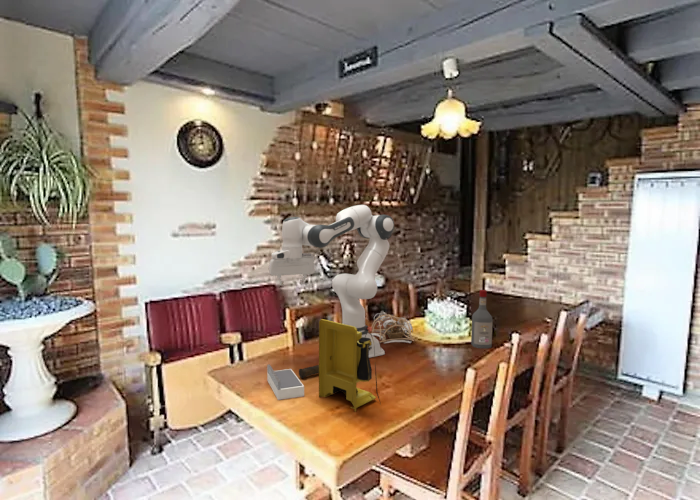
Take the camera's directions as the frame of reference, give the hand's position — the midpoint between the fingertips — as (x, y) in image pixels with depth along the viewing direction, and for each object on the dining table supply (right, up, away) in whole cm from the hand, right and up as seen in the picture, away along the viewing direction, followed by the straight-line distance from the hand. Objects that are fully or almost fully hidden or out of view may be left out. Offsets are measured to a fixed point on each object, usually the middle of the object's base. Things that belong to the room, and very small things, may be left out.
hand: (292, 284), depth 196 cm
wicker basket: (+51, -35, +50) cm, 79 cm away
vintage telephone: (+26, -41, -32) cm, 58 cm away
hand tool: (+8, -41, -9) cm, 43 cm away
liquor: (+94, -36, +33) cm, 106 cm away
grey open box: (0, -39, -22) cm, 45 cm away
